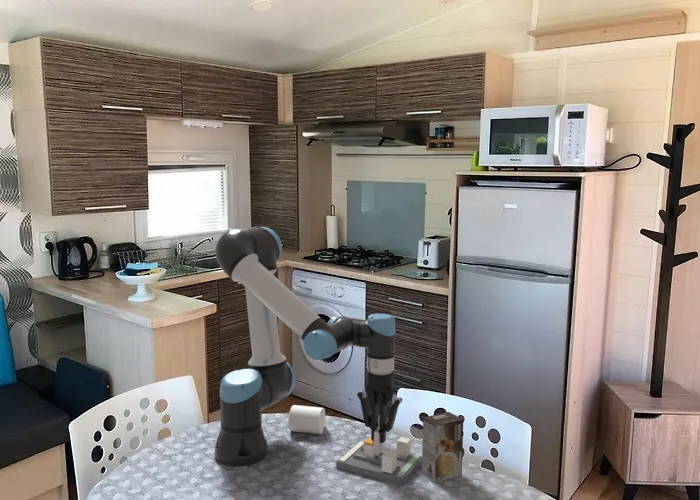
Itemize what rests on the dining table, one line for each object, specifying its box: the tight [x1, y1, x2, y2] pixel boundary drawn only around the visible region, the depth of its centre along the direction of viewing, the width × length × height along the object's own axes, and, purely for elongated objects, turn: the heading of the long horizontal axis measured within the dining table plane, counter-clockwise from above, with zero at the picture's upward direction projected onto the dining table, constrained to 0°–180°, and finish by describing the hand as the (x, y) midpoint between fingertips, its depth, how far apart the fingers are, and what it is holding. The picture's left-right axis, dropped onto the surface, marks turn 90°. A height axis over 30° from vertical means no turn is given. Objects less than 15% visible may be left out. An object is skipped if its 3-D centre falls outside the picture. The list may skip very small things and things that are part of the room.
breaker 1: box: [382, 451, 397, 474], centre depth 156 cm, size 3×3×4 cm
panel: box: [335, 441, 422, 487], centre depth 163 cm, size 20×14×3 cm
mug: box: [287, 404, 326, 435], centre depth 186 cm, size 12×10×8 cm
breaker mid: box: [363, 437, 377, 459], centre depth 164 cm, size 3×3×4 cm
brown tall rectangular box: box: [421, 411, 464, 484], centre depth 158 cm, size 9×6×16 cm
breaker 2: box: [396, 436, 412, 458], centre depth 165 cm, size 3×3×4 cm
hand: (378, 452), depth 163 cm, fingers closed
